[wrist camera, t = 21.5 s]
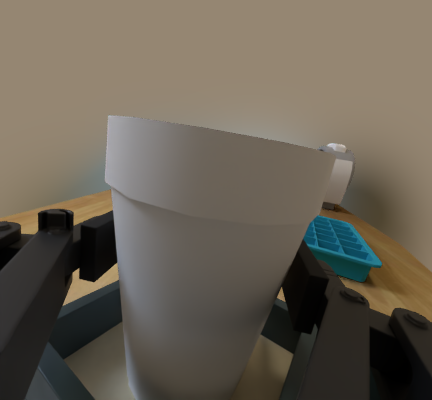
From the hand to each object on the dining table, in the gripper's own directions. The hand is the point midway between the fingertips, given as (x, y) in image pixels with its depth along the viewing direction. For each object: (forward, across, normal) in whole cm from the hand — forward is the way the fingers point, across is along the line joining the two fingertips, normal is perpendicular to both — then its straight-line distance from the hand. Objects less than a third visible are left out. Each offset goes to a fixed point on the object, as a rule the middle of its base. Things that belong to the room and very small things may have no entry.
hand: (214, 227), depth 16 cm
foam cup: (-4, 0, -7) cm, 8 cm away
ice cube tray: (+22, +16, -8) cm, 29 cm away
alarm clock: (+63, +29, -8) cm, 70 cm away
